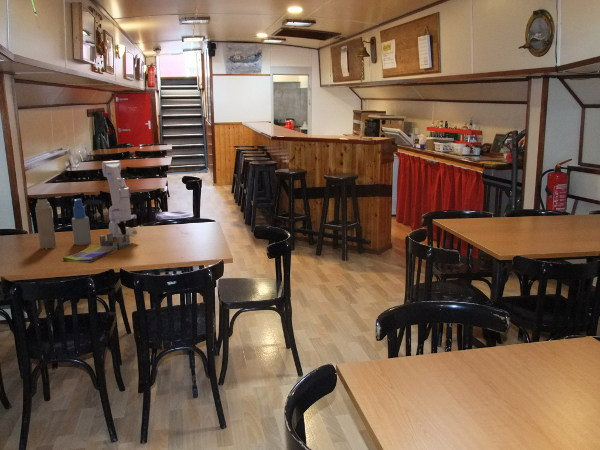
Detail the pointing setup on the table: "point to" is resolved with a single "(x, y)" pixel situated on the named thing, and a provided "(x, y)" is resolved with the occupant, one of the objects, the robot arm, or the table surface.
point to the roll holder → (119, 244)
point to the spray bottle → (80, 224)
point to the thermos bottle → (45, 223)
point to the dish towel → (91, 254)
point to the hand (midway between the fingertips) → (127, 233)
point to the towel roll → (128, 232)
